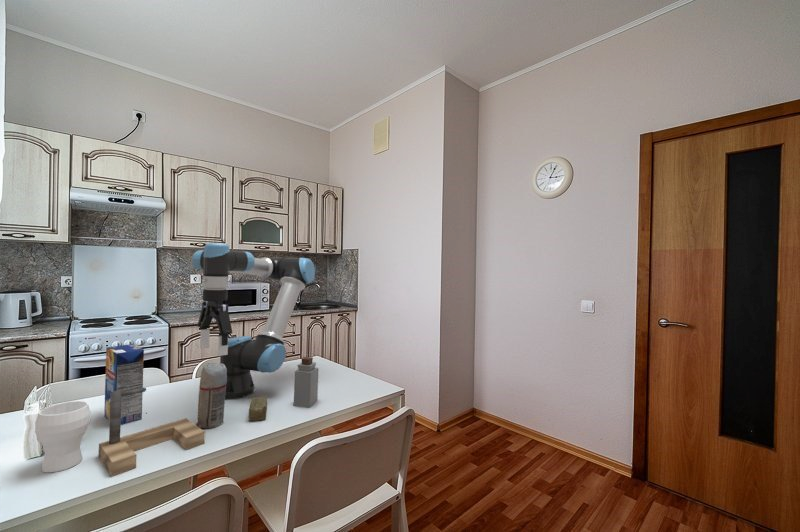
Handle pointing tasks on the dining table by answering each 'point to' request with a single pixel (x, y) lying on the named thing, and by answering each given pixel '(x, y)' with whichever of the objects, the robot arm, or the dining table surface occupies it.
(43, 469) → the cup
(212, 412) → the spray can
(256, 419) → the stone block
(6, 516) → the dining table surface
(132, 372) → the juice carton
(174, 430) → the wooden stand
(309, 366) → the perfume bottle
